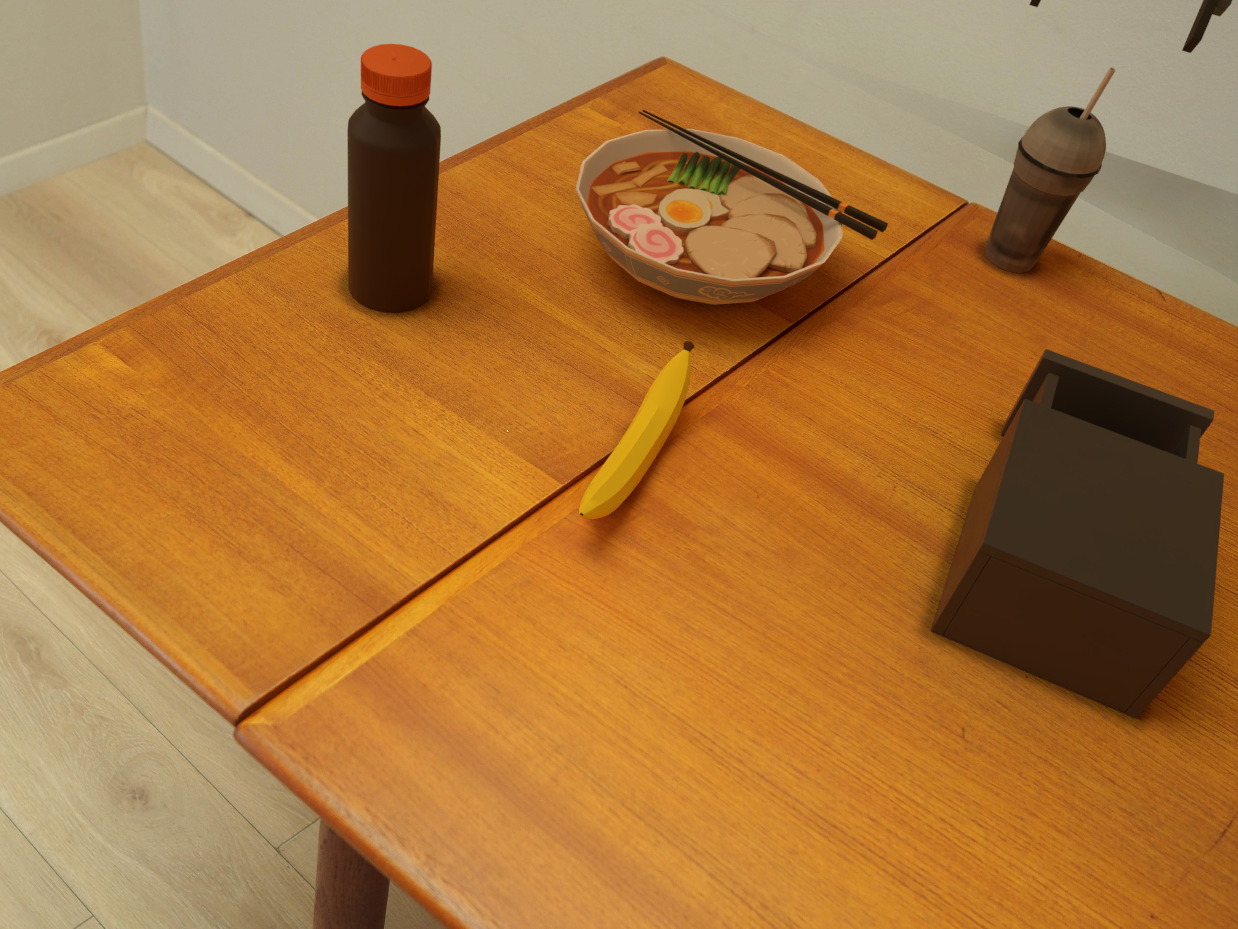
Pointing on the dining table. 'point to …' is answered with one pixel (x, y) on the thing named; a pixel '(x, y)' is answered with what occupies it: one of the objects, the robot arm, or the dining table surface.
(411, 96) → the bottle
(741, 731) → the dining table surface
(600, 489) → the banana
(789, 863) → the dining table surface
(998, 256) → the beverage cup
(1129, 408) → the drawer
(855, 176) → the dining table surface
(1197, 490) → the cabinet
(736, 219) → the ramen bowl
